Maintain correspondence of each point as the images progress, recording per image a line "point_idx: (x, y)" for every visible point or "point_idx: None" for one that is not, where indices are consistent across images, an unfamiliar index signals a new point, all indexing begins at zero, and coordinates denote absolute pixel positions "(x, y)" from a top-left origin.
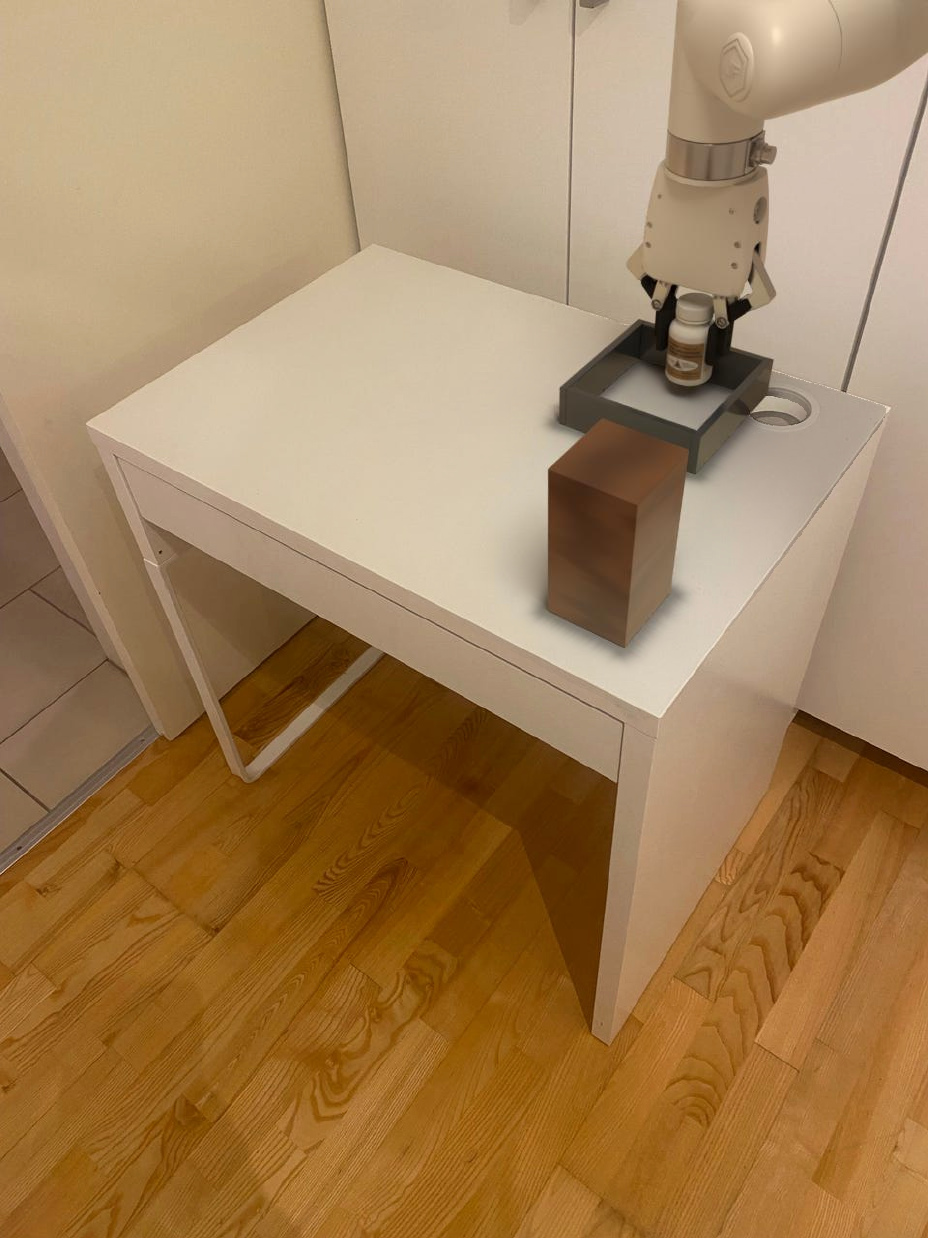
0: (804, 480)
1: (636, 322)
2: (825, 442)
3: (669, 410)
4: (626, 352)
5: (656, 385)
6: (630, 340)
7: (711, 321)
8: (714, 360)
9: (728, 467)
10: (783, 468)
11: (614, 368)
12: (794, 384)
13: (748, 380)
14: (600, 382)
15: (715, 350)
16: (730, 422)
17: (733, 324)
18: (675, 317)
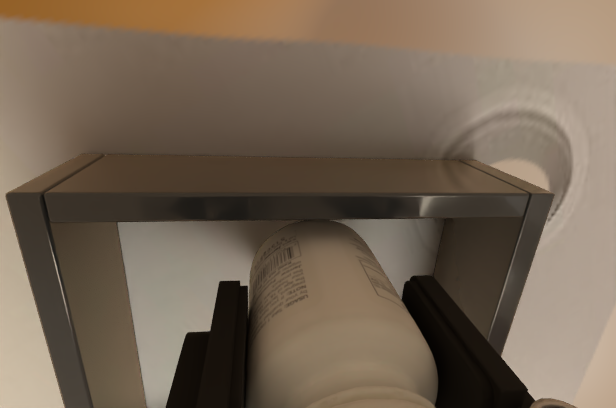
0: (571, 343)
1: (22, 226)
2: (601, 245)
3: None
4: (97, 277)
5: (227, 253)
6: (79, 277)
7: (419, 385)
8: None
9: None
10: (538, 338)
11: (115, 320)
12: (528, 78)
13: (503, 317)
14: (127, 373)
15: None
16: None
17: (527, 394)
18: (244, 390)
